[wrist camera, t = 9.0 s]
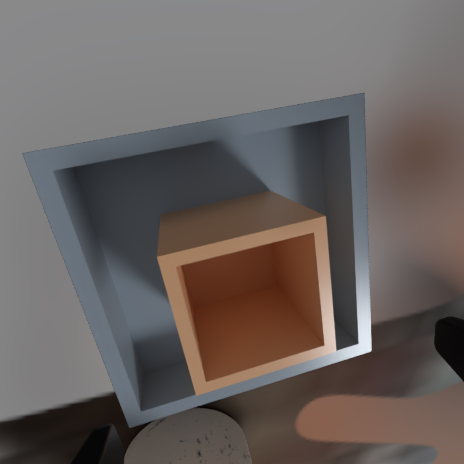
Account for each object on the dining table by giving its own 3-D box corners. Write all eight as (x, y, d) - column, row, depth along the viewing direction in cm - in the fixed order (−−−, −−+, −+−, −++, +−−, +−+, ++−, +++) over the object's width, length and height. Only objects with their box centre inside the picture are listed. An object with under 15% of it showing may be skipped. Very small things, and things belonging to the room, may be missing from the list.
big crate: (324, 102, 16) (364, 92, 13) (338, 318, 21) (371, 351, 17) (55, 150, 14) (22, 153, 11) (136, 377, 19) (129, 427, 15)
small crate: (270, 190, 16) (325, 215, 11) (283, 286, 18) (336, 351, 12) (160, 214, 15) (156, 256, 10) (186, 313, 17) (196, 396, 12)
